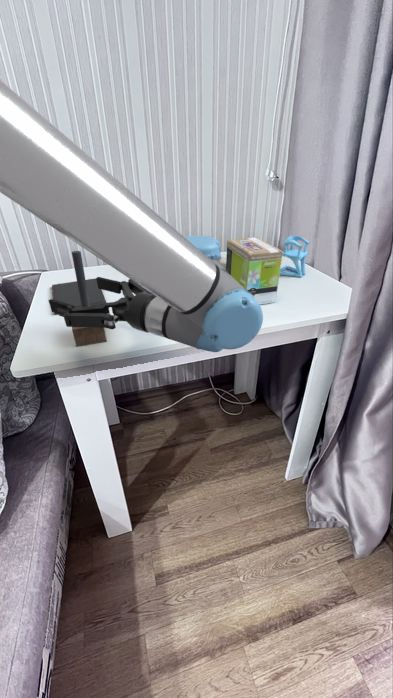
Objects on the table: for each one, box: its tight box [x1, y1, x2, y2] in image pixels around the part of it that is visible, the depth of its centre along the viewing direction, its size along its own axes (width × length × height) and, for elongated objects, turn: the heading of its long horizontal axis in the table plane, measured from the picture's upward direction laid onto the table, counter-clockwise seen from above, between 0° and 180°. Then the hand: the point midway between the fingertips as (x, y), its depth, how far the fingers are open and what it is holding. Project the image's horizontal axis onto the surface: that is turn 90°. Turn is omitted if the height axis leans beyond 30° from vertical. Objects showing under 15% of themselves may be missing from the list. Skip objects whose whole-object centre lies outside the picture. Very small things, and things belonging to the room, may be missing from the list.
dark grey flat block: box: [51, 277, 107, 316], centre depth 96 cm, size 20×14×1 cm
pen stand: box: [71, 327, 108, 347], centre depth 76 cm, size 7×7×4 cm
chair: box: [279, 235, 310, 278], centre depth 105 cm, size 8×8×12 cm
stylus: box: [71, 250, 90, 307], centre depth 72 cm, size 2×2×20 cm
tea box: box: [225, 236, 284, 306], centre depth 91 cm, size 15×10×15 cm, turn 18°
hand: (76, 293), depth 72 cm, fingers open, 13 cm apart
